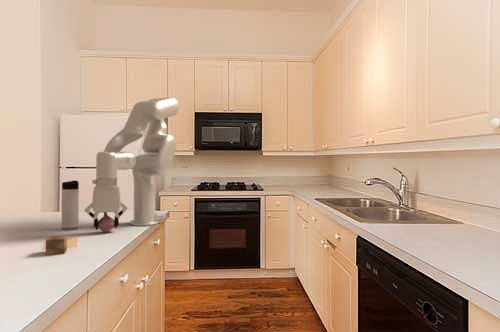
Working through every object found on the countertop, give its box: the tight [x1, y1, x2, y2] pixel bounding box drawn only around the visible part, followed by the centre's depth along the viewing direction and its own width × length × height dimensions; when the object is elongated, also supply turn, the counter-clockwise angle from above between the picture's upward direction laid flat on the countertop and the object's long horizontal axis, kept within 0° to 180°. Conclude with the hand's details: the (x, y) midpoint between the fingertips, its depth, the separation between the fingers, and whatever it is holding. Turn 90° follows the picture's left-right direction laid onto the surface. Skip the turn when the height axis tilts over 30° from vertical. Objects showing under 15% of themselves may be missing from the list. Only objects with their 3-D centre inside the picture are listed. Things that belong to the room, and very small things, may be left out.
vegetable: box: [98, 212, 115, 234], centre depth 133 cm, size 6×6×10 cm
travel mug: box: [61, 180, 80, 231], centre depth 141 cm, size 6×7×20 cm
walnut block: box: [45, 235, 68, 256], centre depth 104 cm, size 5×5×5 cm
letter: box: [41, 236, 79, 251], centre depth 116 cm, size 10×15×1 cm, turn 26°
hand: (106, 227), depth 133 cm, fingers closed on vegetable, 6 cm apart
